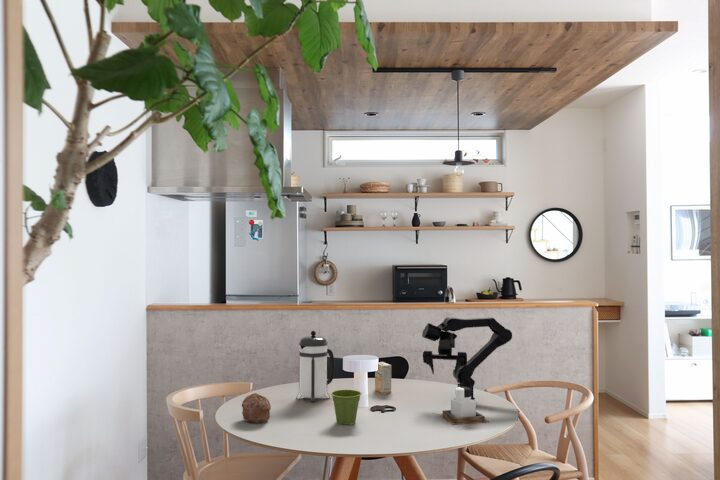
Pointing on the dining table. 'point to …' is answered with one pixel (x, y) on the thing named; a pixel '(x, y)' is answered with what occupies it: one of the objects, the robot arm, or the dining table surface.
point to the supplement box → (383, 378)
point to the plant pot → (346, 405)
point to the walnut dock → (462, 418)
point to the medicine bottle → (463, 403)
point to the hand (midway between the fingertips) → (444, 374)
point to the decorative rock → (256, 408)
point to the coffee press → (314, 367)
